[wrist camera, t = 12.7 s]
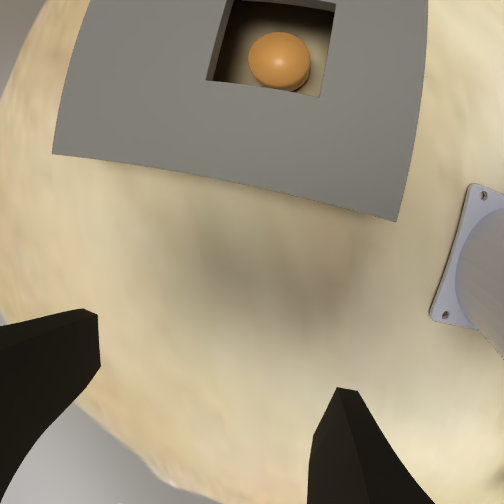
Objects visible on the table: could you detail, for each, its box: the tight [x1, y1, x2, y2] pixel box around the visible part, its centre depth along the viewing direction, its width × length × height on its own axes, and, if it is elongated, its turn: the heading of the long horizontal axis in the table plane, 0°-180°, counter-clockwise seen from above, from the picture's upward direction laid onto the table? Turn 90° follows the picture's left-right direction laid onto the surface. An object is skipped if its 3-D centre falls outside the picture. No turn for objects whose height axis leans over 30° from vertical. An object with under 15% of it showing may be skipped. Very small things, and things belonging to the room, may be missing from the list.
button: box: [248, 32, 310, 92], centre depth 13 cm, size 3×3×2 cm
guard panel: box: [52, 0, 428, 222], centre depth 12 cm, size 16×12×4 cm
